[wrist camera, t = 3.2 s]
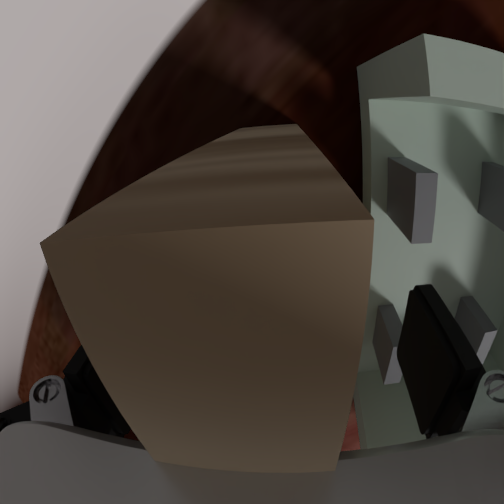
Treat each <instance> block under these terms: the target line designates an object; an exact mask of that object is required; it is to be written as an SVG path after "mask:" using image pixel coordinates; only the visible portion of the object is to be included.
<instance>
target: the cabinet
mask: <svg viewBox="0 0 504 504" xmlns="http://www.w3.org/2000/svg"><path fill="white" fill-rule="evenodd" d="M357 75H358V85H359V98H360V112H361V130H362V158H363V205H364V206H365V208H366V209H367V210H368V212H369V213H370V214H371V216H372V217H373V218H374V237H373V253H372V266H371V278H370V288H369V297H368V306H367V315H366V322H365V330H364V337H363V343H362V350H361V356H360V362H359V368H358V374H357V379H356V384H355V390H354V395H353V398H354V405H355V411H356V418H357V425H358V433H359V440H360V448H361V449H369V448H376V447H383V446H390V445H396V444H403V443H408V442H414V441H419V440H424V439H426V436H425V434H424V435H422V434H421V433H420V430H419V427H418V423H417V420H416V416H415V413H414V409H413V406H412V403H411V400H410V396H409V393H408V390H407V387H406V384H405V381H404V377H403V374H402V371H401V368H400V366H399V363H398V360H397V347H398V343H399V339H400V334H401V330H402V325H403V321H404V316H405V311H406V306H407V300H408V295H409V291H410V290H413V289H414V287H415V286H416V285H424V284H432V285H433V287H434V288H435V290H436V291H437V293H438V294H439V296H440V297H441V299H442V300H443V302H444V303H445V305H446V306H447V308H448V309H449V311H450V312H451V314H452V315H453V317H454V319H455V320H456V322H457V323H458V324H459V326H460V328H461V329H462V331H463V332H464V334H465V336H466V337H467V339H468V341H469V342H470V344H471V346H472V347H473V349H474V351H475V353H476V354H477V356H478V358H479V360H480V361H481V363H482V365H483V367H484V369H485V371H486V372H489V371H491V370H502V371H504V53H502V52H498V51H495V50H492V49H489V48H485V47H482V46H478V45H474V44H471V43H467V42H462V41H458V40H454V39H449V38H445V37H440V36H434V35H429V34H422V35H419V36H417V37H415V38H413V39H411V40H409V41H407V42H405V43H402V44H400V45H398V46H396V47H394V48H392V49H390V50H388V51H386V52H384V53H382V54H380V55H378V56H376V57H375V58H373V59H371V60H369V61H367V62H365V63H363V64H361V65H359V66H358V67H357Z"/></svg>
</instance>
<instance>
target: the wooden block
mask: <svg viewBox="0 0 504 504" xmlns="http://www.w3.org/2000/svg"><path fill="white" fill-rule="evenodd" d="M373 237H374V218H373V217H372V216H371V214H370V213H369V212H368V210H367V209H366V208H365V206H364V205H363V204H362V202H361V201H360V200H359V198H358V197H357V196H356V194H355V193H354V192H353V191H352V189H351V188H350V187H349V185H348V184H347V183H346V182H345V180H344V179H343V178H342V177H341V175H340V174H339V173H338V172H337V170H336V169H335V168H334V167H333V165H332V164H331V163H330V162H329V161H328V159H327V158H326V157H325V156H324V155H323V153H322V152H321V151H320V150H319V149H318V148H317V146H316V145H315V144H314V143H313V142H312V141H311V140H310V138H309V137H308V136H307V135H306V134H305V133H304V132H303V130H302V129H301V128H300V127H299V126H298V125H297V124H286V125H271V126H259V127H248V128H240V129H238V130H235V131H233V132H231V133H229V134H227V135H225V136H222V137H220V138H218V139H216V140H214V141H212V142H210V143H208V144H206V145H203V146H201V147H199V148H197V149H195V150H193V151H191V152H189V153H187V154H185V155H183V156H181V157H180V158H178V159H176V160H174V161H172V162H170V163H168V164H166V165H164V166H162V167H161V168H159V169H157V170H155V171H153V172H151V173H150V174H148V175H146V176H144V177H142V178H141V179H139V180H137V181H135V182H134V183H132V184H130V185H128V186H127V187H125V188H123V189H122V190H120V191H118V192H117V193H115V194H113V195H112V196H110V197H108V198H107V199H105V200H103V201H102V202H100V203H99V204H97V205H95V206H94V207H92V208H91V209H89V210H87V211H86V212H84V213H83V214H81V215H80V216H78V217H77V218H75V219H74V220H72V221H71V222H69V223H68V224H66V225H65V226H63V227H62V228H60V229H59V230H57V231H56V232H55V233H53V234H52V235H51V236H49V237H47V238H46V239H45V240H43V241H42V242H40V245H41V248H42V251H43V254H44V257H45V260H46V263H47V265H48V268H49V271H50V273H51V276H52V279H53V281H54V284H55V286H56V289H57V291H58V294H59V296H60V299H61V301H62V303H63V306H64V308H65V310H66V312H67V315H68V317H69V319H70V321H71V323H72V326H73V328H74V330H75V332H76V334H77V336H78V338H79V340H80V342H81V344H82V346H83V348H84V350H85V352H86V354H87V356H88V358H89V360H90V361H91V363H92V365H93V367H94V369H95V371H96V372H97V374H98V376H99V378H100V380H101V381H102V383H103V385H104V386H105V388H106V390H107V392H108V393H109V395H110V396H111V398H112V400H113V401H114V403H115V405H116V406H117V408H118V409H119V411H120V412H121V414H122V416H123V417H124V419H125V420H126V422H127V423H128V425H129V426H130V428H131V429H132V430H133V432H134V433H135V435H136V436H137V438H138V439H139V440H140V442H141V443H142V445H143V446H144V447H145V449H146V450H147V451H148V453H149V454H150V455H151V457H152V458H153V459H154V461H158V462H163V463H169V464H175V465H182V466H189V467H197V468H205V469H214V470H225V471H239V472H260V473H303V472H324V471H335V469H336V466H337V462H338V458H339V455H340V451H341V447H342V443H343V439H344V435H345V431H346V427H347V422H348V418H349V414H350V409H351V404H352V400H353V395H354V390H355V384H356V379H357V374H358V368H359V362H360V356H361V350H362V343H363V337H364V330H365V322H366V315H367V306H368V297H369V288H370V278H371V266H372V253H373Z"/></svg>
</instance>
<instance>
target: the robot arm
mask: <svg viewBox="0 0 504 504" xmlns="http://www.w3.org/2000/svg"><path fill="white" fill-rule="evenodd" d="M397 360H398V363H399V366H400V368H401V371H402V374H403V377H404V381H405V384H406V387H407V390H408V393H409V396H410V400H411V403H412V406H413V409H414V413H415V416H416V420H417V423H418V427H419V430H420V433H421V434H422V435H424V434H425V436H426V439H424V440H419V441H414V442H408V443H403V444H396V445H390V446H383V447H376V448H369V449H361V450H352V451H341V452H340V455H339V458H338V462H337V466H336V469H335V471H324V472H303V473H260V472H239V471H225V470H214V469H205V468H197V467H189V466H182V465H175V464H169V463H163V462H158V461H154V459H153V458H152V457H151V455H150V454H149V453H148V451H147V450H146V449H145V447H144V446H143V445H142V443H141V442H140V441H136V440H131V439H126V438H123V437H124V435H125V434H128V433H129V431H130V429H131V428H130V426H129V425H128V423H127V422H126V420H125V419H124V417H123V416H122V414H121V412H120V411H119V409H118V408H117V406H116V405H115V403H114V401H113V400H112V398H111V396H110V395H109V393H108V392H107V390H106V388H105V386H104V385H103V383H102V381H101V380H100V378H99V376H98V374H97V372H96V371H95V369H94V367H93V365H92V363H91V361H90V360H89V358H88V356H87V354H86V352H85V350H84V348H83V346H82V345H81V346H80V347H79V349H78V350H77V352H76V353H75V355H74V356H73V357H72V359H71V360H70V362H69V363H68V365H67V366H66V367H65V369H64V370H63V373H64V375H65V378H64V379H61V378H60V377H58V376H47V377H44V378H42V379H40V380H39V381H37V382H36V383H35V384H34V386H33V387H32V388H31V391H30V395H29V401H28V402H26V403H23V404H21V405H18V406H16V407H14V408H11V409H9V410H7V411H4V412H2V413H0V504H504V371H502V370H491V371H489V372H486V371H485V369H484V367H483V365H482V363H481V361H480V360H479V358H478V356H477V354H476V353H475V351H474V349H473V347H472V346H471V344H470V342H469V341H468V339H467V337H466V336H465V334H464V332H463V331H462V329H461V328H460V326H459V324H458V323H457V322H456V320H455V319H454V317H453V315H452V314H451V312H450V311H449V309H448V308H447V306H446V305H445V303H444V302H443V300H442V299H441V297H440V296H439V294H438V293H437V291H436V290H435V288H434V287H433V285H432V284H424V285H416V286H415V287H414V289H413V290H410V291H409V295H408V300H407V306H406V311H405V316H404V321H403V325H402V330H401V334H400V339H399V343H398V347H397Z"/></svg>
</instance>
